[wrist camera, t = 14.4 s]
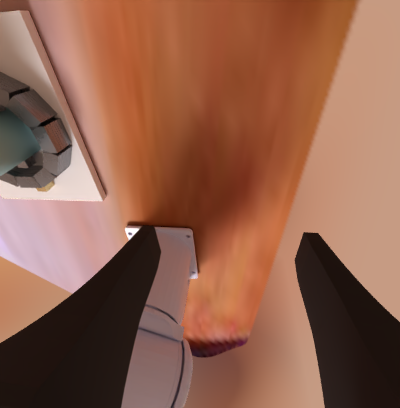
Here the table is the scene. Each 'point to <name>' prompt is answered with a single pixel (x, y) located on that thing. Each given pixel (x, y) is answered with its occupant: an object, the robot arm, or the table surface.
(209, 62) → the table surface
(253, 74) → the table surface
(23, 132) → the teal peg
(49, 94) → the collar plate
